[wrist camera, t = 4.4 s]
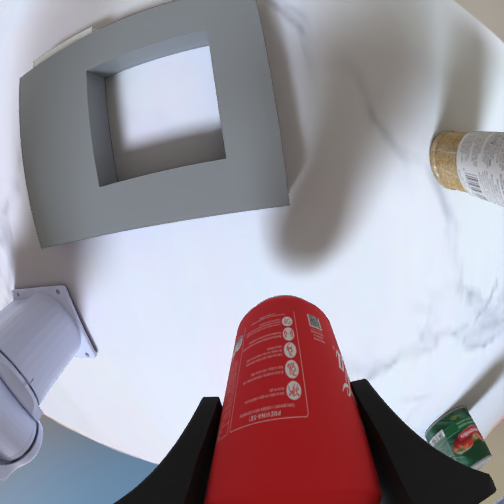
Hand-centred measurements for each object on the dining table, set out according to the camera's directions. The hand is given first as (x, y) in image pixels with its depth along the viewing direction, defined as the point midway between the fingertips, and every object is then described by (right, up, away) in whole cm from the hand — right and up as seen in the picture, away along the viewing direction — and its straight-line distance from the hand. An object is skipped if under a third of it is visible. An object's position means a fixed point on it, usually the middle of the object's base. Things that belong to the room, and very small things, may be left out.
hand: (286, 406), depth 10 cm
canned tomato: (+28, -20, +18) cm, 39 cm away
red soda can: (0, +2, +6) cm, 6 cm away
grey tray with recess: (-9, +15, +6) cm, 18 cm away
